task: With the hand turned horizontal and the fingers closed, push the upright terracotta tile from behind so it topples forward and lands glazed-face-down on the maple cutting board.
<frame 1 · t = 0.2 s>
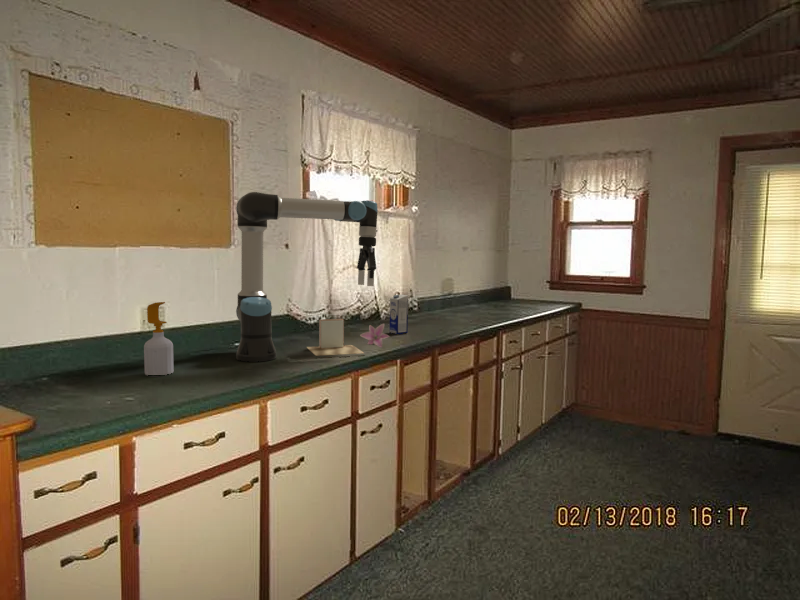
hand: (365, 285, 245), 27 cm above the worktop, tool pointing down, fingers open, 13 cm apart
board: (334, 352, 233), on the worktop
soap bottle: (159, 374, 191), on the worktop
milk carton: (398, 333, 289), on the worktop
lily: (375, 346, 250), on the worktop
tile: (331, 347, 238), point 1 cm above the worktop, touching board
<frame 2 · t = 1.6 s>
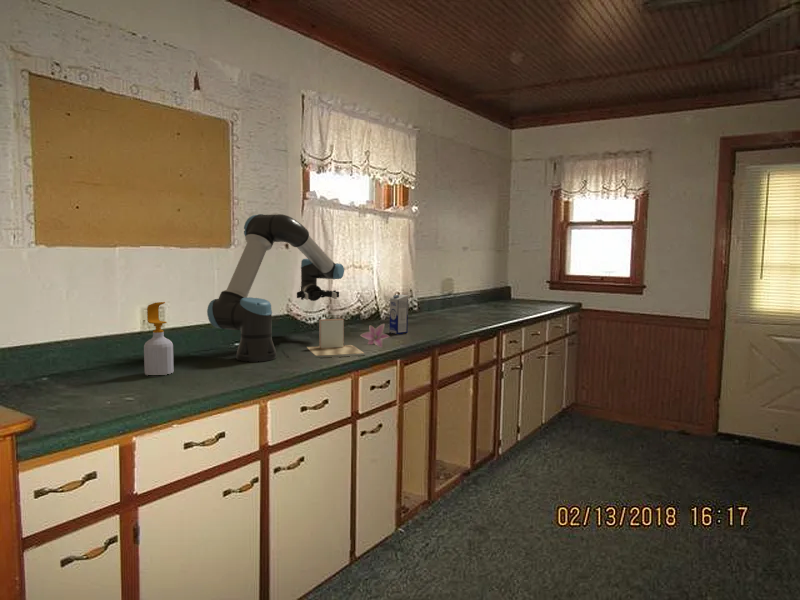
hand: (321, 296, 246), 22 cm above the worktop, tool horizontal, fingers open, 12 cm apart
nothing on the worktop moved.
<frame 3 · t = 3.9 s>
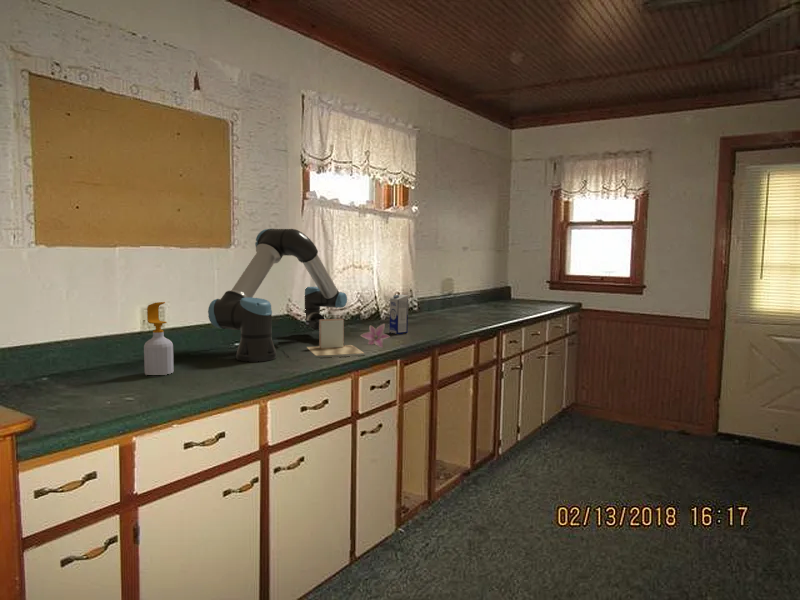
hand: (327, 327, 246), 8 cm above the worktop, tool horizontal, fingers closed
nothing on the worktop moved.
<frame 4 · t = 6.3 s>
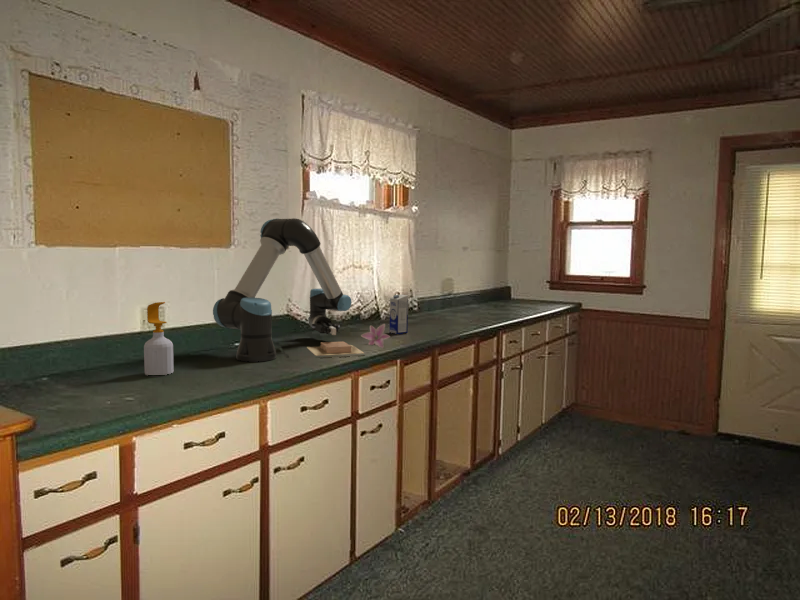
hand: (334, 331, 235), 8 cm above the worktop, tool horizontal, fingers closed
tile: (332, 344, 237), point 3 cm above the worktop, tilted 90°, touching board
everything else where it was.
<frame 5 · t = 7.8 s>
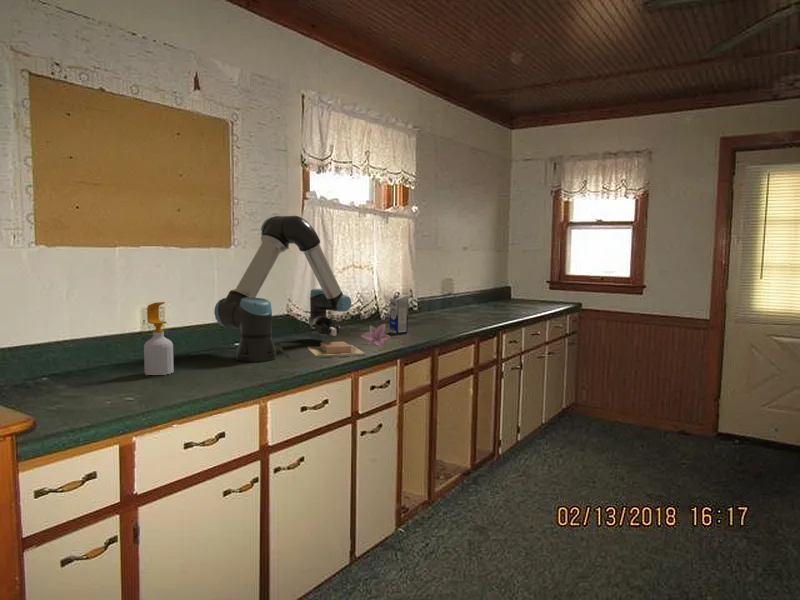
hand: (334, 332, 232), 8 cm above the worktop, tool horizontal, fingers closed
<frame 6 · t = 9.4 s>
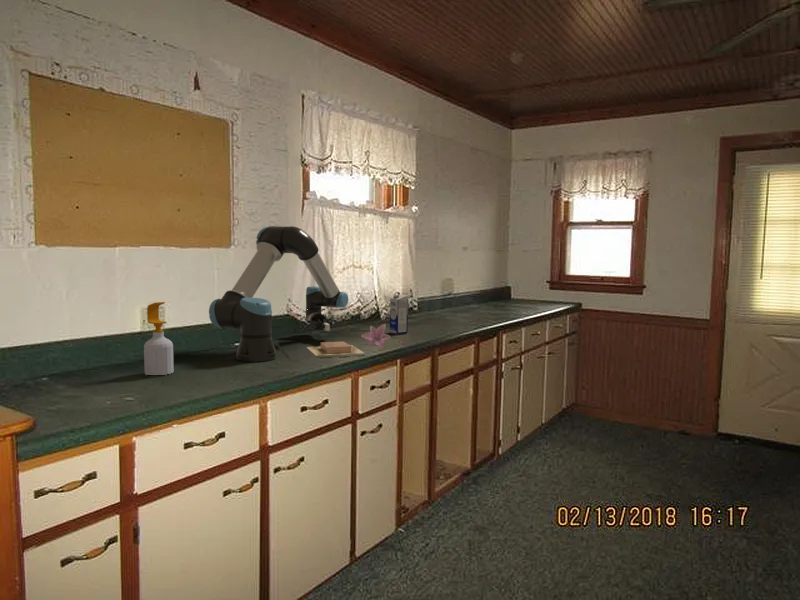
hand: (328, 327, 244), 9 cm above the worktop, tool horizontal, fingers closed
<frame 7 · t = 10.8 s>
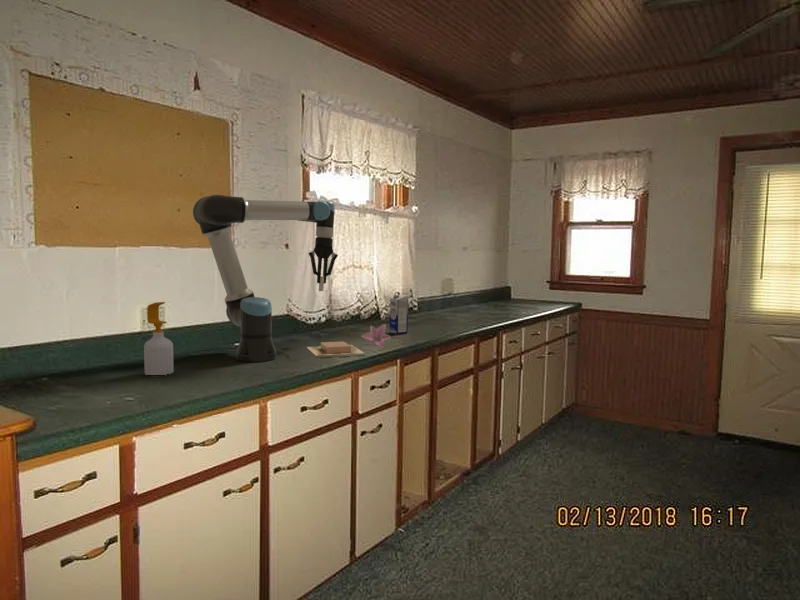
hand: (320, 291, 246), 24 cm above the worktop, tool pointing down, fingers closed
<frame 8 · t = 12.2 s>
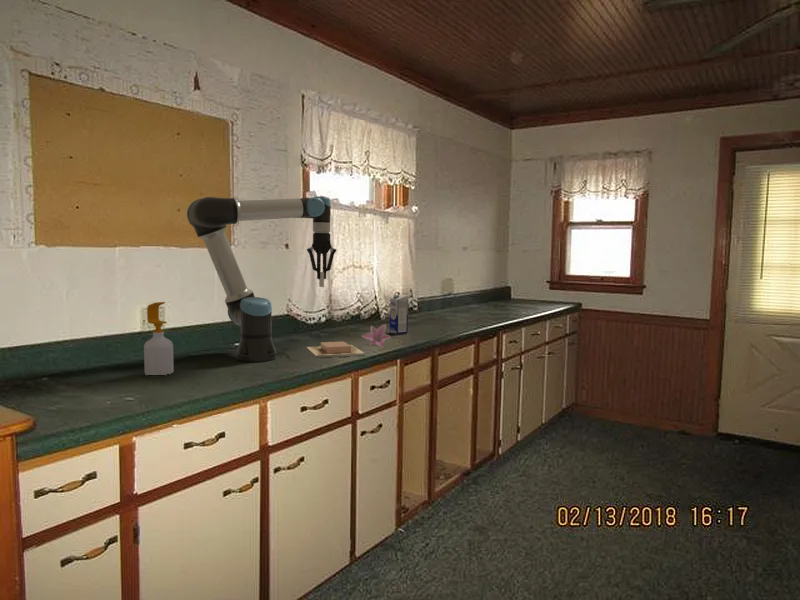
hand: (321, 286, 246), 26 cm above the worktop, tool pointing down, fingers closed
at the end: tile tilted 90°; tile inside the target area (4.5 cm from its centre), point 2.6 cm above the worktop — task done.
